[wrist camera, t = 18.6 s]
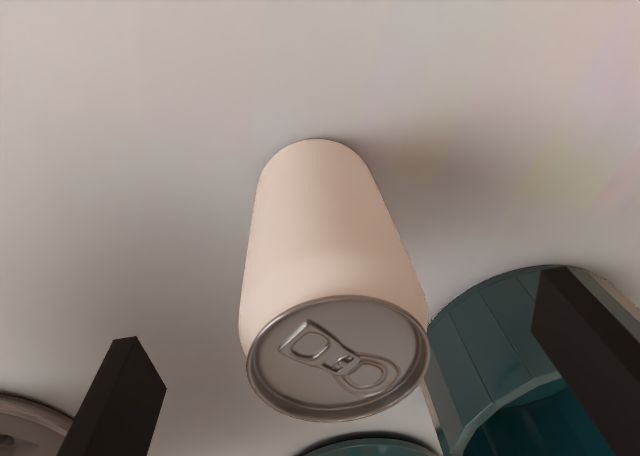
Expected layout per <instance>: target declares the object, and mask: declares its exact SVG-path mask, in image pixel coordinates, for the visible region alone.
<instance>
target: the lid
mask: <svg viewBox="0 0 640 456" xmlns="http://www.w3.org/2000/svg"><path fill="white" fill-rule="evenodd" d="M304 456H436V455H435V454H434V453H432V452H431V451H429V450H428V449H426V448H424V447H422V446H420V445H417V444H414V443H411V442H407V441H402V440H396V439H387V438H367V439H356V440H349V441H344V442H339V443H335V444H331V445H328V446H325V447H322V448H319V449H317V450H314V451H312V452H310V453H308V454H306V455H304Z"/></svg>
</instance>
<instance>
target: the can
mask: <svg viewBox="0 0 640 456" xmlns="http://www.w3.org/2000/svg"><path fill="white" fill-rule="evenodd" d="M427 326H428V308H427V303H426V299H425V296H424V293H423V290H422V288H421V285H420V283H419V280H418V278H417V275H416V273H415V271H414V269H413V266H412V264H411V262H410V259H409V257H408V255H407V253H406V250H405V248H404V246H403V243H402V241H401V239H400V237H399V234H398V232H397V230H396V228H395V226H394V223H393V221H392V219H391V217H390V214H389V212H388V210H387V208H386V205H385V203H384V201H383V199H382V197H381V194H380V192H379V190H378V188H377V186H376V183H375V181H374V179H373V177H372V175H371V173H370V171H369V169H368V167H367V165H366V164H365V163H364V161H363V160H362V159H361V158H360V156H359V155H358V154H356V153H355V152H354V151H353V150H351V149H350V148H348V147H346V146H345V145H342V144H340V143H337V142H334V141H330V140H324V139H309V140H303V141H299V142H296V143H293V144H291V145H289V146H287V147H285V148H283V149H282V150H280V151H279V152H278V153H276V154H275V155H274V156H273V157H272V158H271V159H270V160H269V161H268V163H267V164H266V166H265V167H264V169H263V171H262V173H261V175H260V178H259V181H258V185H257V190H256V196H255V202H254V209H253V216H252V222H251V229H250V236H249V243H248V250H247V257H246V264H245V271H244V278H243V285H242V293H241V301H240V309H239V320H238V328H239V338H240V342H241V345H242V348H243V351H244V353H245V355H246V357H247V361H246V370H247V376H248V380H249V382H250V385H251V387H252V388H253V390H254V392H255V393H256V394H257V395H258V397H259V398H260V399H261V400H262V401H263V402H265V403H266V404H267V405H268V406H270V407H271V408H273V409H275V410H276V411H278V412H280V413H283V414H285V415H287V416H290V417H293V418H297V419H301V420H306V421H312V422H327V423H329V422H345V421H352V420H357V419H361V418H365V417H368V416H371V415H374V414H377V413H380V412H382V411H384V410H386V409H388V408H390V407H392V406H394V405H395V404H397V403H399V402H400V401H402V400H403V399H404V398H405V397H407V396H408V395H409V394H410V393H411V392H412V391H413V390H414V389H415V388H416V387H417V386H418V385H419V383H420V382H421V381H422V379H423V377H424V376H425V374H426V371H427V369H428V366H429V362H430V356H431V349H430V342H429V339H428V336H427V334H426V332H427Z"/></svg>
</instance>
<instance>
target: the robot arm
mask: <svg viewBox="0 0 640 456" xmlns="http://www.w3.org/2000/svg"><path fill="white" fill-rule="evenodd" d="M530 331H531V333H532V334H533V336H534V337H535V338H536V340H537V341H538V343H539V344H540V346H541V347H542V349H543V350H544V352H545V353H546V355H547V356H548V357H549V359H550V360H551V362H552V363H553V365H554V366H555V368H556V369H557V371H558V372H559V373H560V375H561V376H562V378H563V379H564V381H565V382H566V384H567V385H568V387H569V388H570V389H571V391H572V392H573V394H574V395H575V397H576V398H577V400H578V401H579V403H580V404H581V406H582V407H583V408H584V410H585V411H586V413H587V414H588V416H589V417H590V419H591V420H592V422H593V423H594V424H595V426H596V427H597V429H598V430H599V432H600V433H601V435H602V436H603V438H604V439H605V441H606V442H607V443H608V445H609V446H610V448H611V449H612V451H613V452H614V454H615V455H616V456H640V343H639V342H638V340H637V339H636V338H635V337H634V336H633V335H632V334H631V333H630V332H629V331H628V330H627V329H626V328H625V327H624V326H623V325H622V324H621V323H620V322H619V321H618V320H617V319H616V318H615V317H614V316H613V315H612V314H611V313H610V312H609V310H608V309H607V308H606V307H605V306H604V305H603V304H602V303H601V302H600V301H599V300H598V299H597V298H596V297H595V296H594V295H593V294H592V293H591V292H590V291H589V290H588V289H587V288H586V287H585V286H584V285H583V284H582V283H581V282H580V280H579V279H578V278H577V277H576V276H575V275H574V274H573V273H572V272H571V271H570V270H569V269H568V268H567V267H566V266H561V267H555V268H549V269H543V270H541V272H540V278H539V284H538V290H537V295H536V301H535V307H534V312H533V318H532V324H531V330H530ZM166 390H167V388H166V386H165V384H164V383H163V381H162V379H161V377H160V376H159V374H158V372H157V371H156V369H155V367H154V365H153V364H152V362H151V360H150V359H149V357H148V355H147V353H146V352H145V350H144V348H143V347H142V345H141V343H140V341H139V340H138V338H137V336H133V337H127V338H121V339H115V340H113V342H112V344H111V346H110V348H109V350H108V352H107V354H106V356H105V358H104V360H103V362H102V364H101V366H100V368H99V370H98V372H97V374H96V376H95V378H94V380H93V382H92V384H91V386H90V388H89V390H88V392H87V394H86V396H85V398H84V400H83V402H82V404H81V406H80V408H79V410H78V412H77V414H76V416H75V418H74V421H73V420H72V419H70V418H68V417H67V416H65V415H63V414H61V413H59V412H57V411H55V410H53V409H51V408H49V407H46V406H43V405H41V404H38V403H35V402H32V401H29V400H25V399H22V398H18V397H13V396H8V395H3V394H0V456H147V453H148V449H149V446H150V443H151V440H152V436H153V433H154V430H155V426H156V423H157V420H158V417H159V413H160V410H161V407H162V403H163V400H164V397H165V394H166Z"/></svg>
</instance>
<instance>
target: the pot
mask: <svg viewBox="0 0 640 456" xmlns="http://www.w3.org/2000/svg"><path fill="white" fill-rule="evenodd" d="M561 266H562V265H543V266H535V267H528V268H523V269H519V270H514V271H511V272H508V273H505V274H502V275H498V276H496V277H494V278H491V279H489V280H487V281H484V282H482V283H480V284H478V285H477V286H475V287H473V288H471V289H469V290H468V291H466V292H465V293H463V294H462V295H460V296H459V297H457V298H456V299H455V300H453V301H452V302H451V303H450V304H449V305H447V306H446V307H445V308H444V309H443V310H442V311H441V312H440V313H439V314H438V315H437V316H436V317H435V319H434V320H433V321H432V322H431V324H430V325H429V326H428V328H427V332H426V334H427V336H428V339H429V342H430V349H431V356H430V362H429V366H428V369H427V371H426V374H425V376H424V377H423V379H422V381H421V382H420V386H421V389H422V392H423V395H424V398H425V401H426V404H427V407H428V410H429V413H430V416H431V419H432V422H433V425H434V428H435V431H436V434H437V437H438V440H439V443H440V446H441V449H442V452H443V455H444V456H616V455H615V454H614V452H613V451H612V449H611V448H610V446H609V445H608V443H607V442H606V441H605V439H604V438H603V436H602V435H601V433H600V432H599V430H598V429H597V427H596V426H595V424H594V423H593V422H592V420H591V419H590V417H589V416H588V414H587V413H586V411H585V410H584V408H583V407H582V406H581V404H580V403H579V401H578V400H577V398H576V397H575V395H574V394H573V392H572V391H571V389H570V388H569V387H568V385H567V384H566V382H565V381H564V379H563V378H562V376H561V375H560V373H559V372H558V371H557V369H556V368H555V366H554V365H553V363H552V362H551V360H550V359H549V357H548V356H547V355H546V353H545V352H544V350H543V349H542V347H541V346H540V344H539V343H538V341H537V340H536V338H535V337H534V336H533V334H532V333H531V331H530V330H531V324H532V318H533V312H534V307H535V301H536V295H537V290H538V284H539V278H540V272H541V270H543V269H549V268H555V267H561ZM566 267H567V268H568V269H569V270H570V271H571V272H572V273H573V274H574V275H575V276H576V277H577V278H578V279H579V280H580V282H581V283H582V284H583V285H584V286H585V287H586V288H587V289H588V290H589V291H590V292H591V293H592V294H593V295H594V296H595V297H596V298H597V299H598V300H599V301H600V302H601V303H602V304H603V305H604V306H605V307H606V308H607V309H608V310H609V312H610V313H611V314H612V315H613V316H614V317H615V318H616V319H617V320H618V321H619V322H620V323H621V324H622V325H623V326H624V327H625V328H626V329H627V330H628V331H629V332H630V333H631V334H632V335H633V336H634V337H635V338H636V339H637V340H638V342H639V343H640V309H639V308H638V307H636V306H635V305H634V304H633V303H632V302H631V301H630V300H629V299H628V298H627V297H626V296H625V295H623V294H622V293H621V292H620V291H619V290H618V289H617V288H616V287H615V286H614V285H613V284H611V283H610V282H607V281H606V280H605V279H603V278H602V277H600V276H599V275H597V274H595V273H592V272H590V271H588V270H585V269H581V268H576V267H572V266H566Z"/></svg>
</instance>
